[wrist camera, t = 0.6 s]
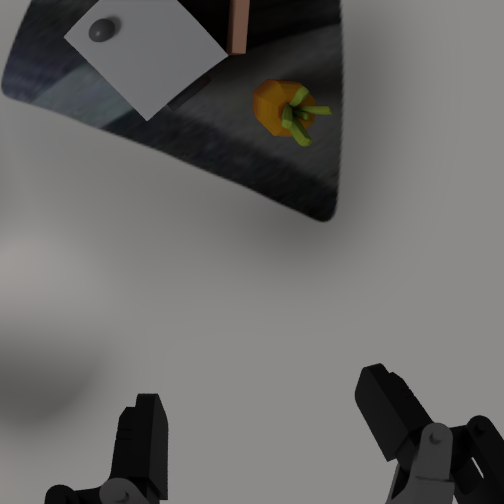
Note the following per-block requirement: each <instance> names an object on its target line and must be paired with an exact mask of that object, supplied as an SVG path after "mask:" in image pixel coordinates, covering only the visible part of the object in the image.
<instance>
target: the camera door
mask: <svg viewBox="0 0 504 504" xmlns="http://www.w3.org/2000/svg"><path fill="white" fill-rule="evenodd" d="M249 3H250V0H230V7H229V20H228V33H227V48H226V54H227V55H240V54H245V53H246V40H247V27H248V15H249Z"/></svg>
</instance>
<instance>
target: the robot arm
mask: <svg viewBox="0 0 504 504" xmlns="http://www.w3.org/2000/svg"><path fill="white" fill-rule="evenodd" d="M355 400H356V403H357V406H358V407H359V409H360V411H361V413H362V415H363V417H364V419H365V420H366V422H367V424H368V426H369V428H370V430H371V432H372V434H373V435H374V437H375V439H376V441H377V443H378V445H379V447H380V449H381V451H382V453H383V455H384V457H385V459H386V460H387V462H388V461H391V460H393V459H397V460H398V464H397V467H396V471H395V474H394V478H393V482H392V485H391V488H390V493H389V495H388V499H387V501H386V503H385V504H452V501H453V495H454V496H455V498H456V500H457V502H458V504H504V440H503V438H502V437H501V435H500V434H499V432H498V431H497V430H496V428H495V426H494V425H493V424H492V422H491V421H490V420H489V419H488V418H487V417H485V416H481V415H479V416H474V417H473V418H471V419H470V421H469V422H468V423H467V425H463V426H458V427H452V428H448V427H447V426H445V425H444V424H442V423H434V422H433V421H432V420H431V418H430V417H429V415H428V414H427V412H426V411H425V409H424V408H423V407H422V405H421V404H420V403H419V401H418V399H417V398H416V397H415V396H414V394H413V393H412V391H411V390H410V389H409V387H408V386H407V384H406V383H405V381H404V380H403V379H402V378H400V377H399V376H398V375H397V374H395V373H394V372H391V373H389V372H388V371H387V370H386V368H385V367H384V366H383V365H382V364H381V363H379V364H375V365H371V366H367V367H364V368H363V369H362V371H361V374H360V377H359V381H358V384H357V387H356V390H355ZM117 429H118V431H117V434H116V440H115V446H114V453H113V459H112V468H111V473H110V476H109V478H108V480H107V481H106V482H105V483H104V484H103V485H102V486H100V487H97V488H93V489H86V490H77V491H74V490H72V489H71V488H70V487H68V486H65V485H55V486H53V487H51V488H50V489H49V490H48V491H47V493H46V496H45V503H44V504H160V502H159V501H160V500H168V486H167V485H168V482H167V481H168V478H167V477H168V474H167V473H168V471H167V470H168V469H167V467H168V421H167V417H166V414H165V411H164V408H163V406H162V403H161V400H160V398H159V395H158V394H138V395H137V399H136V406H135V407H126V408H125V410H124V411H123V413H122V414H121V415H120V417H119V422H118V428H117ZM472 457H473V458H474V459H475V461H476V463H477V465H478V466H479V468H480V470H481V472H482V473H483V478H482V476H481V474H480V473H479V471H478V469H477V467H476V466H475V464H474V462H473V460H472V459H471V458H472Z"/></svg>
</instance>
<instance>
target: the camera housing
mask: <svg viewBox="0 0 504 504" xmlns="http://www.w3.org/2000/svg"><path fill="white" fill-rule="evenodd" d="M64 38H65V39H66V40H67V41H68V42H69V43H70V44H71V45H72V46H73V47H74V48H75V49H76V50H77V51H78V52H79V53H80V54H81V55H82V56H83V57H84V58H85V59H86V60H87V61H88V62H89V63H90V64H91V65H92V66H93V67H94V68H95V69H96V70H97V71H98V72H99V73H100V74H101V75H102V76H103V77H104V78H105V79H106V80H107V81H108V82H109V83H110V84H111V85H112V86H113V87H114V88H115V89H116V90H117V91H118V92H119V93H120V94H121V95H122V96H123V97H124V98H125V99H126V100H127V101H128V102H129V103H130V104H131V105H132V106H133V107H134V108H135V109H136V110H137V111H138V112H139V113H140V114H141V115H142V116H143V118H144V119H145V120H146V121H148V120H149V119H150V118H151V117H152V116H153V115H154V114H156V113H157V112H158V111H159V110H160V109H161V108H162V107H163V106H165V105H166V104H167V105H168V106H169V107H170V108H171V109H172V110H173V111H174V110H176V109H177V108H178V107H180V106H181V105H182V104H184V103H185V102H186V101H187V100H189V99H190V98H191V97H192V96H193V95H195V94H196V93H197V92H198V91H200V90H201V89H202V88H203V87H204V86H206V85H207V84H208V83H209V82H210V81H211V79H210V77H209V76H208V75H207V74H206V73H205V72H207V71H208V70H209V69H211V68H212V67H213V66H215V65H216V64H217V63H219V62H220V61H222V60H223V59H225V58H226V57H227V56H228V55H227V54H226V52H225V51H224V50H223V49H222V48H221V47H220V46H219V44H218V43H217V42H216V41H215V40H214V39H213V38H212V37H211V35H210V34H209V33H208V32H207V31H206V30H205V29H204V28H203V27H202V26H201V25H200V23H199V22H198V21H197V20H196V19H195V18H194V17H193V16H192V15H191V14H190V13H189V12H188V11H187V10H186V9H185V8H184V7H183V6H182V5H181V4H180V3H179V2H178V1H177V0H99V1H98V2H97V3H96V4H95V5H94V6H93V7H92V8H91V9H90V10H89V11H88V12H87V13H86V14H85V15H84V16H83V17H82V18H81V19H80V20H79V21H78V22H77V23H76V24H75V25H74V26H73V27H72V29H71V30H70V31H69V32H68V33H67V34H66V35H65V36H64Z"/></svg>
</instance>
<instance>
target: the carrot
mask: <svg viewBox="0 0 504 504" xmlns="http://www.w3.org/2000/svg"><path fill="white" fill-rule="evenodd" d="M253 112H254V114H255V116H256V118H257V119H258V120H259V121H260V122H261V123H262V124H263V125H264V126H265V127H266V128H267V129H268V130H269V131H270V132H271V133H272V134H273V135H274V136H293V137H294V138H295V140H296V141H297V142H298V143H299V144H300V145H301V146H305V147H307V146H308V145H310V144H311V143H312V141H313V140H312V139H311V138H310V136H309V135H308V134H307V131H306V129H307V128H308V127H310V126H311V125H312V124H313V123H314V118H315V114H320V115H329V114H332V109H331V108H330V107H327V106H320V107H316V100H315V99H314V98H313V97H312V96H311V94H310V93H309V91H308V90H307V88H305V87H304V86H303V85H302V84H301V83H298V82H294V81H286V80H269V79H268V80H266V81H265V82H264V83H263V84H261V85H260V86H259V87H258V88H257V89H256V90H254V92H253Z"/></svg>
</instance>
